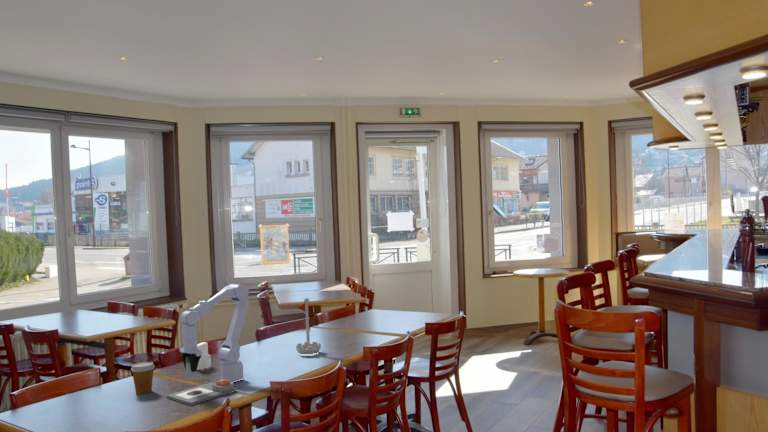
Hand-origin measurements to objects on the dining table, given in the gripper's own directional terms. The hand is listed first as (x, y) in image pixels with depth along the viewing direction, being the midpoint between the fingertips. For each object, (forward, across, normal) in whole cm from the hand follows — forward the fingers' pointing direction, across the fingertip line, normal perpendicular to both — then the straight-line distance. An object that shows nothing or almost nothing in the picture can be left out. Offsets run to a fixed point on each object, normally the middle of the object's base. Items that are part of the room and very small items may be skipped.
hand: (191, 370), depth 251 cm
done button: (+7, +12, +7) cm, 16 cm away
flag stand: (+9, -7, +73) cm, 74 cm away
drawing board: (+9, +8, 0) cm, 12 cm away
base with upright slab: (+9, -32, +25) cm, 41 cm away
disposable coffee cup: (+9, -18, -12) cm, 24 cm away
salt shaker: (+2, 0, 0) cm, 2 cm away
